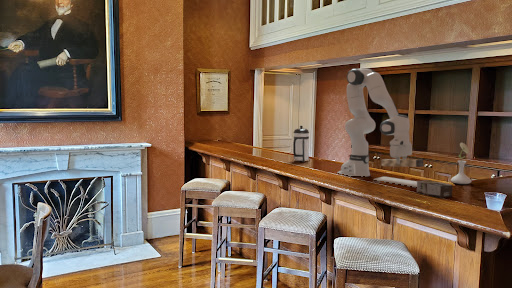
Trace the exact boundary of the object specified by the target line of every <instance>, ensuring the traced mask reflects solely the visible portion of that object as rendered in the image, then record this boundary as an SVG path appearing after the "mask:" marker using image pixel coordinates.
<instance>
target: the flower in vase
mask: <svg viewBox="0 0 512 288" xmlns="http://www.w3.org/2000/svg"><path fill="white" fill-rule="evenodd" d="M459 147H460V148H461V151H460V154H458V158H460V160H457V162H458V165H459V171H458V174H456V175H455V176H452V177H451V179H450V181H451V182H452V183H454V184H456V185H457V184H458V185H469V184H471V183H472V179H471V178H470V177H468V176H467V175H466V174H465V172H464V171H465V170H464V169H465V164H466V163H467V160H462V159H464V158H465V157H466V155H463V157H462V152H464V153H466V154H467V155H468V154H470V151H471V150H470V149H469V147H468V145H466V144H465V142H464V143H463V142H460V143H459Z"/></svg>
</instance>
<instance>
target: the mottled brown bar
mask: <svg viewBox="0 0 512 288" xmlns="http://www.w3.org/2000/svg"><path fill="white" fill-rule="evenodd" d="M400 161H401V164H397V160H396V158H392V159H391V158H389V159H387V158H384V159H380V164H381V165H380V166H381V167H406V168H421V167H422V168H423V167H424V159H422V158H420V159H412V158H411V159H408V158H406V159H403V158H402V159H401V158H400Z"/></svg>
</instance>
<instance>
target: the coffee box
mask: <svg viewBox="0 0 512 288" xmlns="http://www.w3.org/2000/svg"><path fill="white" fill-rule="evenodd" d="M416 181H417V188H416V192H417V193H420V194H423V195H428V196H430V195H431V197H434V196H435V197H434V198H437V199H444V197H445V198H451V196H452V197H453V184H449V183H446V182H440V181H435V180H430V179H424V180H416Z"/></svg>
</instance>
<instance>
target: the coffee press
mask: <svg viewBox="0 0 512 288" xmlns="http://www.w3.org/2000/svg"><path fill="white" fill-rule="evenodd" d="M309 133H310V131H309V130H308V129H307V128H304V127H303V125H300V126H299V128H295V129H294V131H293V142H292V143H293V144H292V145H293V148H292V150H293V151H292V153H293V159H292V162H293V161H294V162H295V161H299V162H300V161H301V162H302V164H304V163H305V161H308V162H311V160H310V158H309V157H310V156H309V154H310V153H309V151H310V149H309V147H310V143H309V142H310V140H309V139H310V136H309Z"/></svg>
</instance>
